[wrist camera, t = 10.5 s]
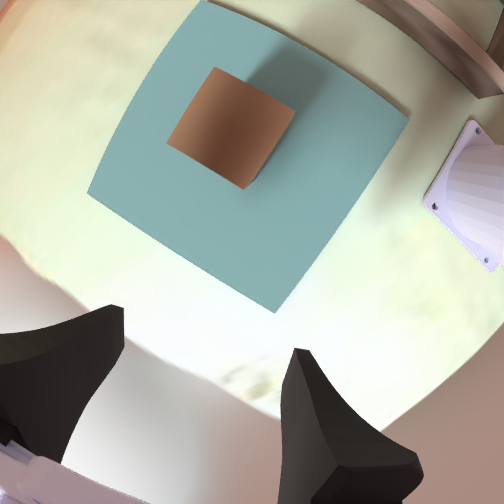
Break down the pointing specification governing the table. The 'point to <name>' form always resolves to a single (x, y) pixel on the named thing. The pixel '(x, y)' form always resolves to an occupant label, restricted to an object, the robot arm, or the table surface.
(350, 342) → the table surface
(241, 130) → the walnut block
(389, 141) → the mat
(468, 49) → the frame
